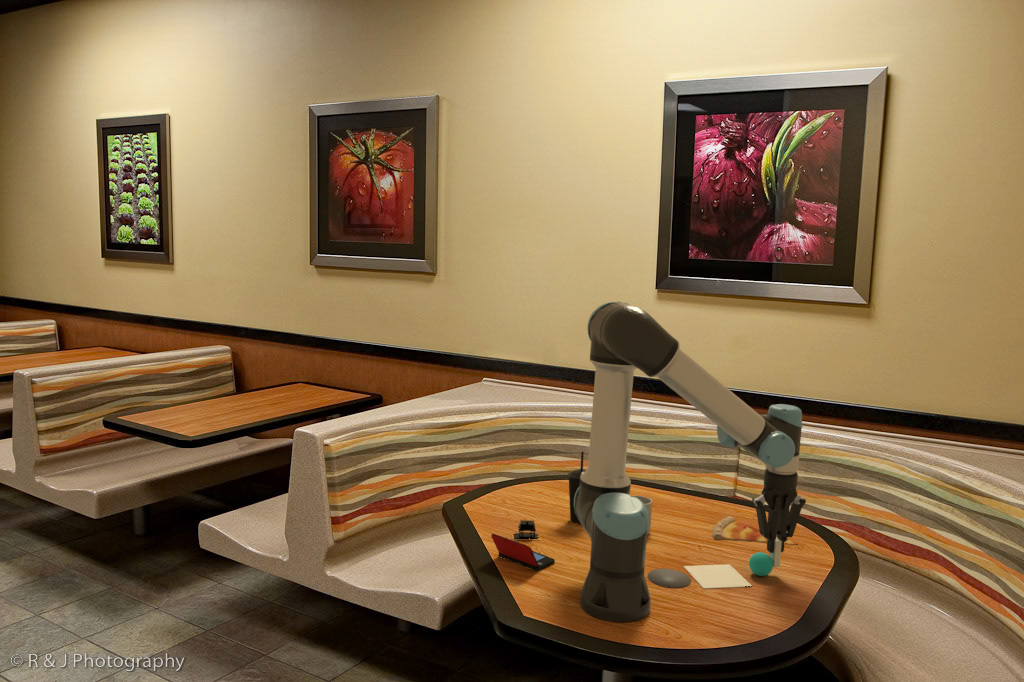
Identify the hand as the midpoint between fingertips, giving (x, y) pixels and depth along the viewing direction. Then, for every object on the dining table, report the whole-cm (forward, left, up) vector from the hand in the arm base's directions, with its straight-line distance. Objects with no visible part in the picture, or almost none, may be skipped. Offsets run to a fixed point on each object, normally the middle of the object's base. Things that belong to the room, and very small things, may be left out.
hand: (774, 564), depth 187 cm
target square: (-14, 0, -3) cm, 15 cm away
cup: (-24, +28, -3) cm, 37 cm away
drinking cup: (-38, +38, -3) cm, 54 cm away
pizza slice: (+4, +23, -3) cm, 23 cm away
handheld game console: (-59, +12, -3) cm, 61 cm away
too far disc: (-26, 0, -3) cm, 27 cm away
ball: (-3, 0, 0) cm, 3 cm away
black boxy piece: (-55, +28, -3) cm, 62 cm away
